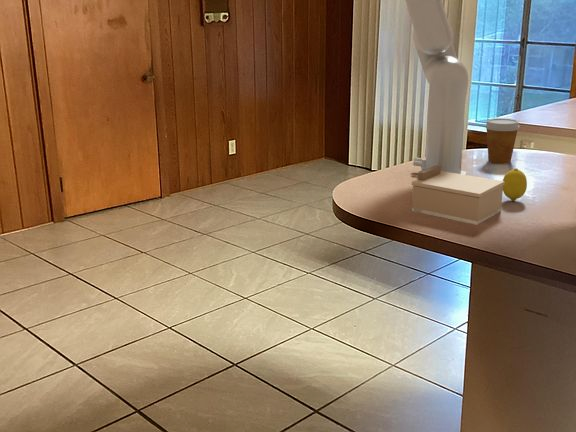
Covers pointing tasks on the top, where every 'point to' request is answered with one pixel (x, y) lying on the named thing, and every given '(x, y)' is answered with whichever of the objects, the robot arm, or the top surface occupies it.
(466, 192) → the mailer lid
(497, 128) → the disposable coffee cup
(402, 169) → the top surface
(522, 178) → the lemon
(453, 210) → the mailer box
